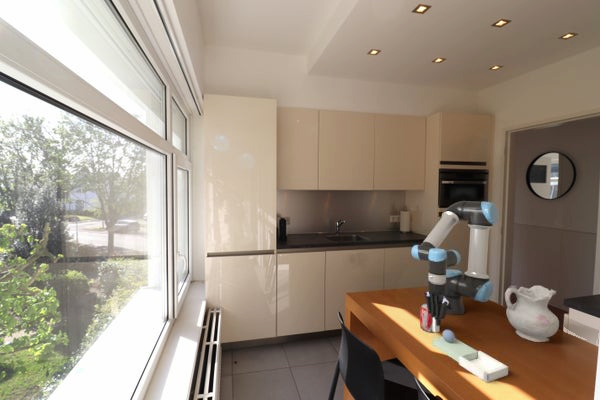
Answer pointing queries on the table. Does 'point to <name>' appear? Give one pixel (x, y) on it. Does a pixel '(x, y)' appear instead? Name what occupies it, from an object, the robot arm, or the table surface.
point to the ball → (448, 335)
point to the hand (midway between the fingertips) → (435, 331)
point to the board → (455, 349)
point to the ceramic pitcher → (531, 313)
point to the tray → (485, 367)
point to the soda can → (425, 319)
